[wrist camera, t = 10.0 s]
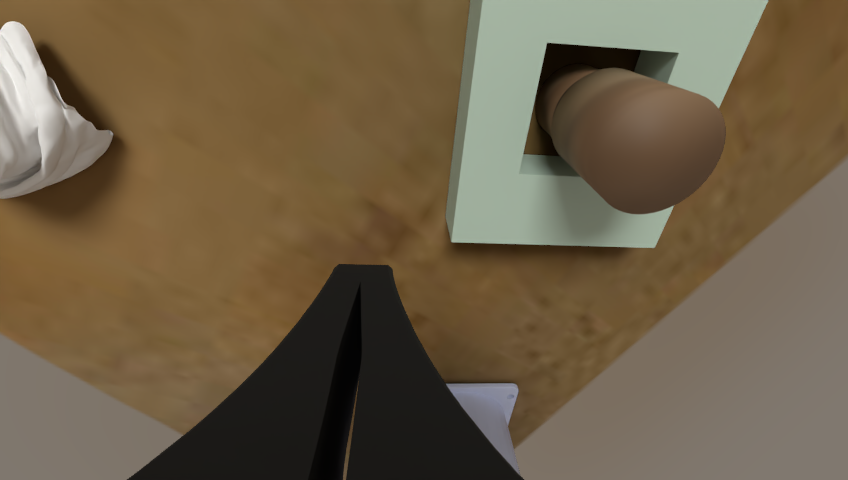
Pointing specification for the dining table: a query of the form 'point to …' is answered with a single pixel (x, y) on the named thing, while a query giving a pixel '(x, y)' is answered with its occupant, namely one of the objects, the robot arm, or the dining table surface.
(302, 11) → the dining table surface
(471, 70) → the board
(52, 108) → the whipped cream
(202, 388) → the dining table surface
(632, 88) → the peg
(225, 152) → the dining table surface
